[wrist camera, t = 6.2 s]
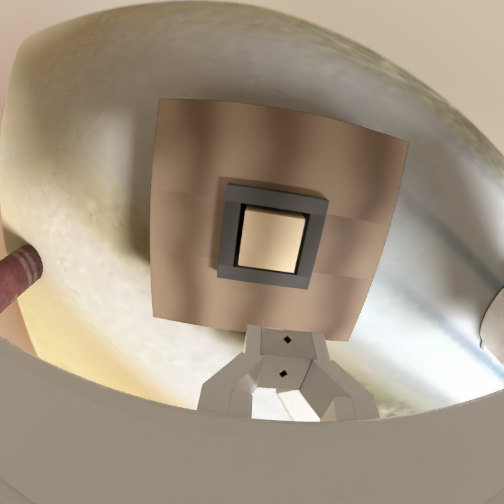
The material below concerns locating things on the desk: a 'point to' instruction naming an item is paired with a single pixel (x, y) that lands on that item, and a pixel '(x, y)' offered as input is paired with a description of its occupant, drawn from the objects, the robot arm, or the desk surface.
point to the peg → (271, 238)
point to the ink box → (297, 406)
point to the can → (18, 274)
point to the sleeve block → (270, 195)
